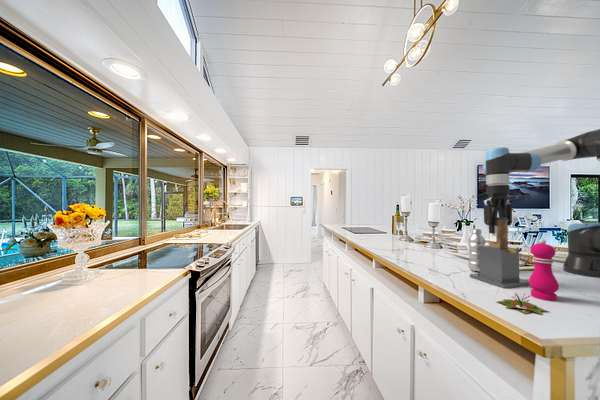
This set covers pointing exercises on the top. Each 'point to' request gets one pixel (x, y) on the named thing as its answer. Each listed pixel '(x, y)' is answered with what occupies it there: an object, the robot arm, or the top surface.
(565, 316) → the top surface
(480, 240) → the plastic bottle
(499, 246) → the column
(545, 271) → the pepper mill
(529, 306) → the lily flower
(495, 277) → the sleeve
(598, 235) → the robot arm
